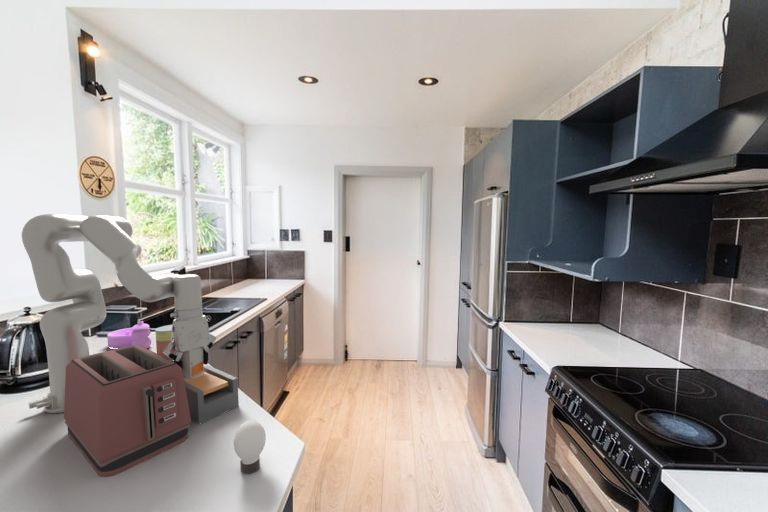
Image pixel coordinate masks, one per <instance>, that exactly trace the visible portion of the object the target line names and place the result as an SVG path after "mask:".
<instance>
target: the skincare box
mask: <svg viewBox="0 0 768 512" xmlns="http://www.w3.org/2000/svg"><path fill="white" fill-rule="evenodd" d="M189 346H190V342H189ZM180 360H182V366H183V376H184V378H185V379H191V378H193V377H195V376H196V375H198V374H200V373H202V372H204V366H205V364H204V359H203V347H201V348H198V349H194V350H189V351H187V352H183V354H182V356H181V358H180Z"/></svg>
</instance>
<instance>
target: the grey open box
mask: <svg viewBox="0 0 768 512" xmlns="http://www.w3.org/2000/svg"><path fill="white" fill-rule="evenodd" d="M204 372H206V373H208V374H211V375H213V376H216V377H218V378H220V379H223V380H225V381H228V386H226V387H224V388H221V389H219V390H216V391H213V392H211V393H208V394H206V395H204V394H203V391H202V390H200V389H198V388H196V387H194V386H192V385H191V384H189V383H187V382H185V381H184V382H185V388H186V394H187V400H188V406H189V412H190V418H191V421H193V420H194V421H193V422H195V423H196V422H197V424H198V425H201V424H203V423H205V422H207V421H209V420H212V419H214V418H216V417H218V416H220V415H222V413H223V414H224V412H225V413H227V412H229V411H231V410H233V409H235V408H238V407H239V382H238V381H239V379H238V377H237V376H234V375H231V374H230V373H226V371H222V370H219V369H217V368H215V367H212V366H211V365H209V364H207V365H204ZM228 410H229V411H228ZM226 411H227V412H226ZM200 423H201V424H200Z"/></svg>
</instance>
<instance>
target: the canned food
mask: <svg viewBox="0 0 768 512" xmlns="http://www.w3.org/2000/svg"><path fill="white" fill-rule="evenodd" d="M172 325H173V324H167V325H162V326H159V327H156V328H155V329H154V330H155V345H156V348H155V349H156V353H157V354H159V355H161V356H163V357H165V358H167V359H171V358H170V357H168V356H167V355H165V354H164V353H163V352H162V350H163V349H164V348H165V347H166V346H167V345H168V344H169V343H170V342H171V334H172ZM170 352H171V353H172V354H174V352H175V350H173V349H171V350H170Z"/></svg>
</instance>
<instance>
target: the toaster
mask: <svg viewBox="0 0 768 512" xmlns="http://www.w3.org/2000/svg"><path fill="white" fill-rule="evenodd" d="M63 419H64V420H65V421H64V424H65V425H66V426H67V435H68V437H69V438H70V439H71V441H72V442H73V444H75V447H77V449H78V450H79V451H80V452H81V454H82V455H83V456H84V458H85V459H86V461H88V463H89V464H90V465H91V467H92V468H93V469H94V470H95V472H96V473H97V475H98V476H100V477H103V478H105V477H106V478H107V477H113V476H115V475H118V474H120V473H123V472H126V471H127V470H129V469H131V468H134V467H135V466H138V465H139V464H141V463H144V462H146V461H148V460H149V459H152V458H154V457H157V456H158V455H161V454H162V453H165V452H166V451H168V450H170V449H173V448H174V447H177V446H179V445H181V444H182V443H184V442H185V441H186V440H187V439H188V437H189V428H190V427H191V422H192V419H191V418H190V412H189V406H188V400H187V394H186V388H185V382H184V376H183V370H182V368H181V367H180V366H178V365H177V364H176V363H175V362H174V360H172V359H170V358H165V357H163V356H161V355H159V354H157V352H154V351H152V350H150V349H149V348H148V349H146V348H144V347H142V346H140V345H138V344H135V345H131V346H127V347H122V348H118V349H109V350H106V351H103V352H98V353H94V354H89V355H88V356H84V357H80V358H75V359H72V360H71V362H70V363H69V364H68V365H67V366H66V377H65V404H64V412H63Z"/></svg>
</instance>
